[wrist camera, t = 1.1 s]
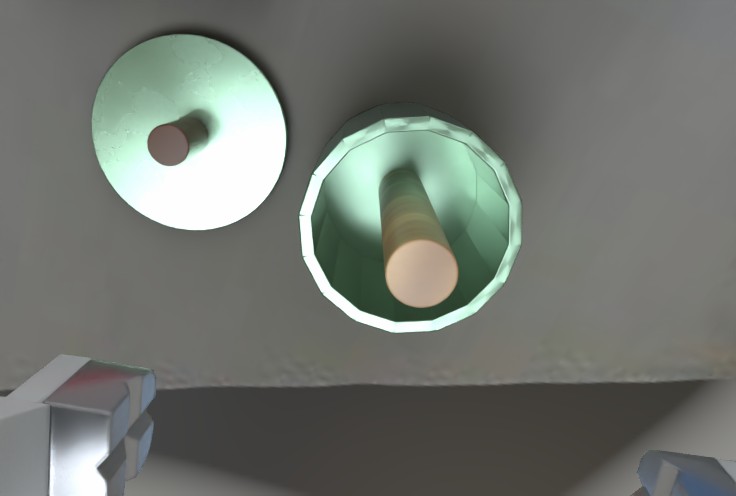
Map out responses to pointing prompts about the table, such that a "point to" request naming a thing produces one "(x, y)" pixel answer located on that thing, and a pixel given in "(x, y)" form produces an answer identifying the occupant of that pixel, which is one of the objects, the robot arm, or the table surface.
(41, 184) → the table surface
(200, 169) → the tin lid
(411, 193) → the stick
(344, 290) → the tin
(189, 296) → the table surface
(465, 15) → the table surface
